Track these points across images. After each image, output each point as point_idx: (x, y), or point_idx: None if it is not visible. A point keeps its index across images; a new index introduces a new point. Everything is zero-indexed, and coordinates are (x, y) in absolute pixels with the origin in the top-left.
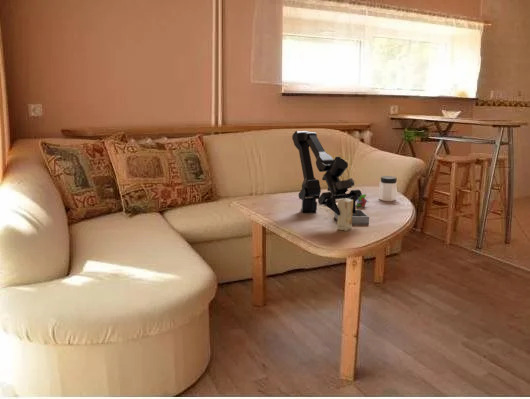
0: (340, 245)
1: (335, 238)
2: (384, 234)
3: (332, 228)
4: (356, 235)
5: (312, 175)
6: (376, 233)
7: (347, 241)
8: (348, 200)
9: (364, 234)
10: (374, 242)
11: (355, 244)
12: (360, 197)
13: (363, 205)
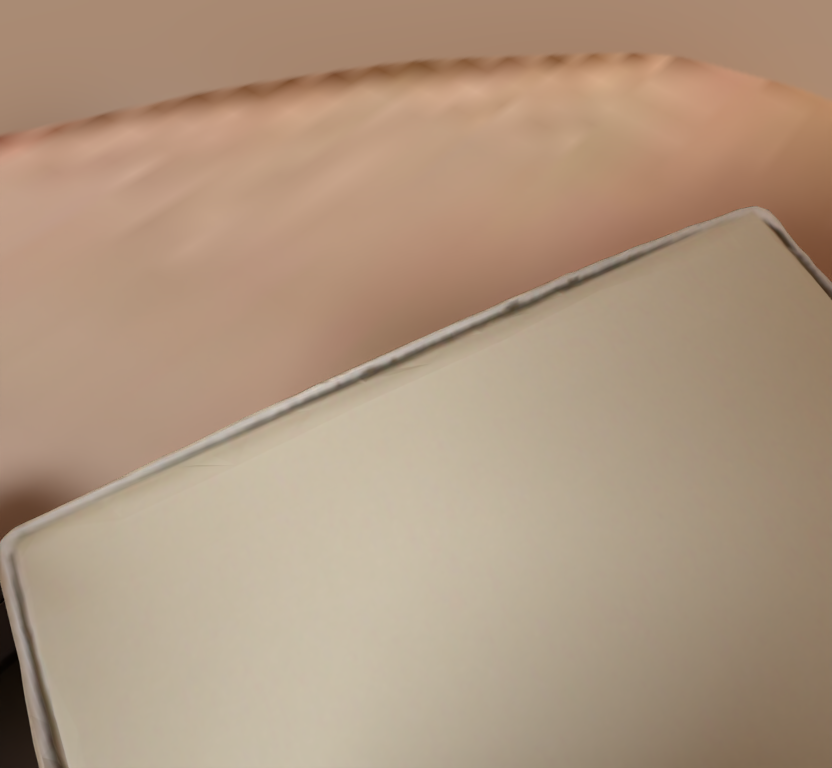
0: (812, 160)
1: None
2: (169, 149)
3: None
4: (481, 280)
5: None
6: (214, 214)
7: (692, 198)
8: (493, 493)
9: (370, 259)
10: (471, 61)
11: (668, 112)
12: None
13: None
